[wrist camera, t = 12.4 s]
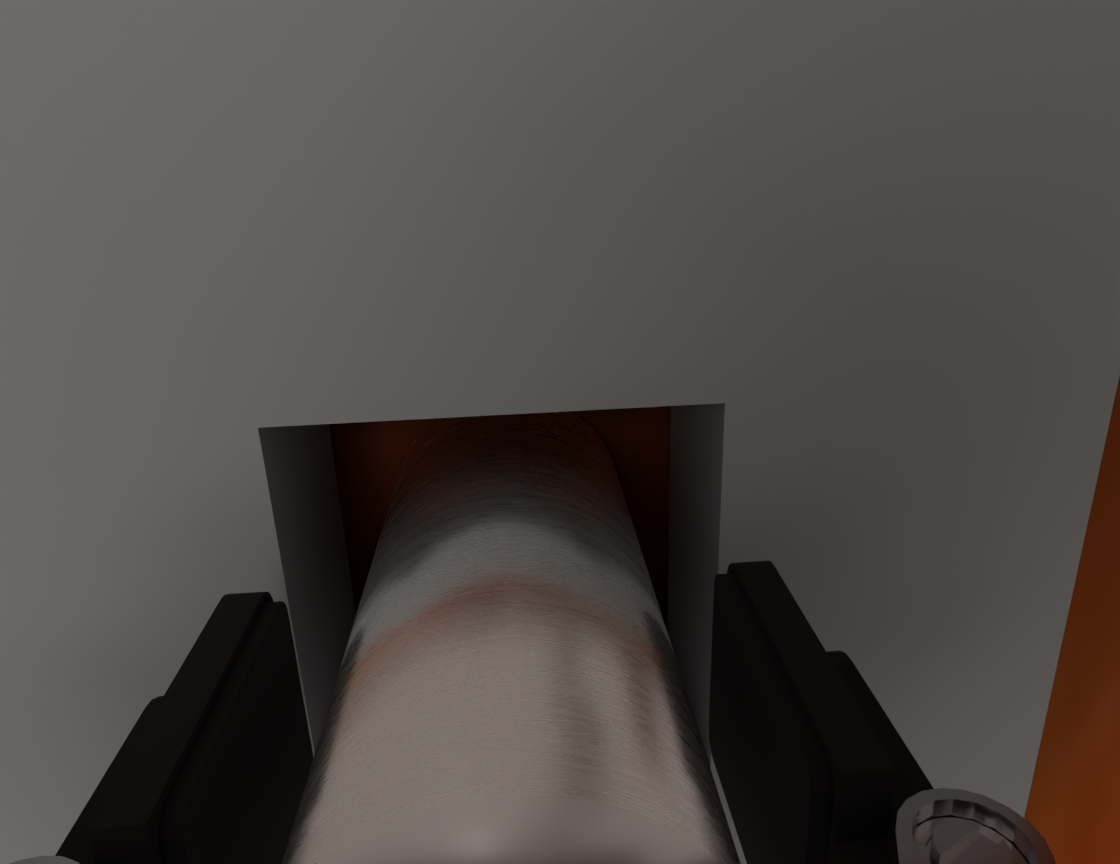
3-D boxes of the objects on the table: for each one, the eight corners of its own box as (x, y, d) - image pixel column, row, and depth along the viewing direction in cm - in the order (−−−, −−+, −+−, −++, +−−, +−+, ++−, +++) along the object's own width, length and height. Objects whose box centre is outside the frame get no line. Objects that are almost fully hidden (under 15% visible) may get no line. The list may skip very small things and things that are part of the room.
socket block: (1022, -23, 14) (1217, -77, 10) (899, 816, 20) (989, 976, 16) (-108, 9, 13) (-361, -35, 9) (140, 875, 19) (52, 1057, 15)
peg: (617, 386, 16) (781, 775, 6) (619, 587, 17) (753, 1134, 8) (384, 398, 16) (204, 819, 6) (408, 600, 17) (292, 1178, 8)
